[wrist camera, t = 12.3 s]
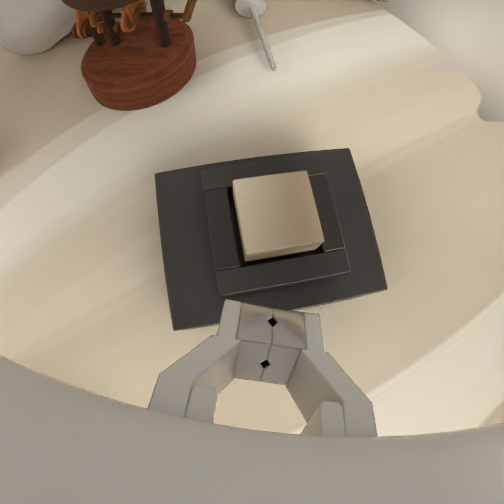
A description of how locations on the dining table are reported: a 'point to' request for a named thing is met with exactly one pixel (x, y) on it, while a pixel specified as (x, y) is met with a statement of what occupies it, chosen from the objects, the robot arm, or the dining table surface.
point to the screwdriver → (256, 22)
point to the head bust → (34, 24)
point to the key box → (269, 269)
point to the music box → (134, 51)
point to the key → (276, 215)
